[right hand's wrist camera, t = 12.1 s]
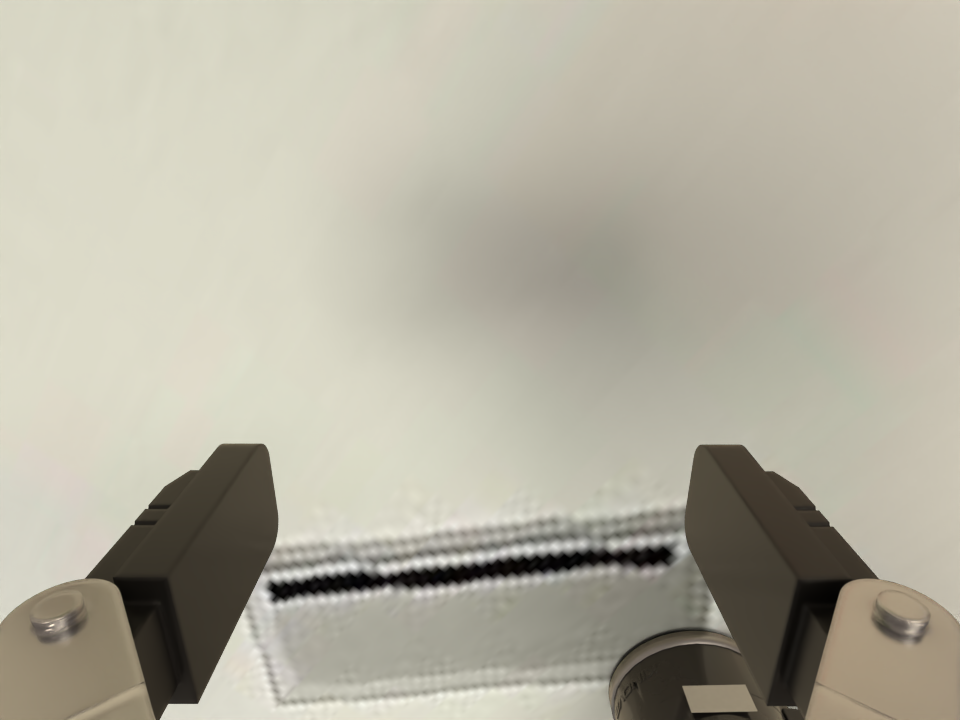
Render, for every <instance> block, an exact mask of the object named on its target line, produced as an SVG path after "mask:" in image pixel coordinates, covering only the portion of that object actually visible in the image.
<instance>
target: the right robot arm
mask: <svg viewBox="0 0 960 720" xmlns="http://www.w3.org/2000/svg"><path fill="white" fill-rule="evenodd" d="M277 532H278V510H277V504H276V497H275V490H274V484H273V477H272V470H271V464H270V457H269V452H268V450H267V447H266V446H265V445H264V444H221V445H219V447H218V448H217V449H216V450H215V451H214V452H213V454H212V455H211V456H210V457H209V459H208V460H207V461H206V462H205V464H204V465H203V466H202V467H201V469H200V470H190V471H189V472H187V473H185V474H184V475H182V476H181V477H179V478H178V479H176V480H174V481H173V482H171V483H170V484H168V485H167V486H165V487H164V488H163V489H162V491H161V492H160V493H159V494H158V495H157V496H156V497H155V499H154V500H153V501H152V502H151V503H150V504H149V508H148V509H145V510H144V511H143V512H142V514H141V515H140V516H139V517H138V518H137V519H136V520H135V525H131V526H130V527H129V529H128V530H127V531H126V532H125V533H124V534H123V535H122V537H121V538H120V539H119V540H118V541H117V542H116V544H115V545H114V546H113V547H112V548H111V549H110V550H109V552H108V553H107V554H106V555H105V556H104V557H103V559H102V560H101V561H100V562H99V563H98V564H97V565H96V567H95V568H94V569H93V570H92V571H91V572H90V574H89V575H88V576H87V577H86V578H85V579H81V580H75V581H70V582H66V583H63V584H60V585H57V586H54V587H52V588H49V589H47V590H44V591H42V592H40V593H38V594H36V595H35V596H33V597H31V598H30V599H28V600H26V601H25V602H23V603H22V604H21V605H19V606H18V607H16V608H15V609H14V610H13V611H12V612H11V613H10V614H9V615H8V616H7V617H6V618H5V619H4V620H3V621H2V622H1V624H0V720H160V718H161V716H162V714H163V712H164V710H165V709H166V707H167V705H168V704H198V702H199V700H200V698H201V696H202V694H203V692H204V690H205V688H206V686H207V684H208V682H209V680H210V678H211V676H212V674H213V672H214V670H215V667H216V665H217V663H218V661H219V659H220V657H221V655H222V653H223V651H224V649H225V647H226V645H227V643H228V641H229V639H230V637H231V635H232V632H233V630H234V628H235V626H236V624H237V622H238V620H239V618H240V616H241V614H242V612H243V610H244V608H245V606H246V604H247V602H248V600H249V598H250V595H251V593H252V591H253V589H254V587H255V585H256V583H257V581H258V579H259V577H260V575H261V573H262V571H263V569H264V567H265V565H266V563H267V560H268V558H269V556H270V554H271V552H272V550H273V548H274V545H275V542H276V538H277ZM685 532H686V539H687V543H688V546H689V549H690V551H691V553H692V555H693V557H694V559H695V561H696V563H697V565H698V567H699V569H700V571H701V573H702V575H703V578H704V580H705V582H706V584H707V586H708V588H709V590H710V592H711V594H712V596H713V598H714V600H715V602H716V604H717V606H718V608H719V610H720V612H721V614H722V616H723V618H724V620H725V622H726V624H727V626H728V628H729V630H730V632H731V634H732V636H733V638H734V639H732V638H729V637H727V636H724V635H721V634H717V633H712V632H706V631H683V632H676V633H670V634H667V635H663V636H660V637H657V638H654V639H652V640H650V641H648V642H646V643H644V644H642V645H641V646H639V647H637V648H636V649H635V650H633V651H632V652H631V653H629V654H628V655H627V656H626V657H625V658H624V659H623V660H622V662H621V663H620V664H619V666H618V667H617V668H616V670H615V672H614V674H613V676H612V679H611V682H610V687H609V699H610V705H611V709H612V714H613V718H614V720H960V624H959V622H958V621H957V620H956V619H955V618H954V617H953V616H952V615H951V614H950V613H949V612H948V611H947V610H946V609H945V608H944V607H942V606H941V605H939V604H938V603H937V602H935V601H934V600H932V599H930V598H929V597H927V596H925V595H924V594H922V593H920V592H918V591H916V590H913V589H911V588H908V587H906V586H903V585H900V584H897V583H894V582H890V581H885V580H879V579H878V577H877V576H876V575H875V574H874V573H873V572H872V571H871V569H870V568H869V567H868V566H867V565H866V564H865V563H864V561H863V560H862V559H861V558H860V557H859V556H858V555H857V553H856V552H855V551H854V550H853V549H852V548H851V547H850V545H849V544H848V543H847V542H846V541H845V540H844V539H843V537H842V536H841V535H840V534H839V533H838V532H837V531H836V529H835V528H834V527H830V525H829V521H828V520H827V519H826V518H825V517H824V516H823V515H822V513H821V512H820V511H816V508H815V505H814V504H813V503H812V502H811V501H810V500H809V499H808V497H807V496H806V495H805V494H804V493H803V492H802V491H801V489H800V488H799V487H797V486H795V485H794V484H792V483H791V482H789V481H788V480H786V479H784V478H783V477H781V476H780V475H778V474H776V473H775V472H773V471H764V470H763V469H762V467H761V466H760V465H759V464H758V463H757V461H756V460H755V459H754V458H753V456H752V455H751V454H750V453H749V452H748V450H747V449H746V448H745V447H744V446H742V445H699V446H698V447H697V449H696V451H695V454H694V459H693V466H692V473H691V479H690V486H689V492H688V499H687V505H686V512H685ZM787 706H797V707H798V709H799V710H798V709H788V707H787Z"/></svg>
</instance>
